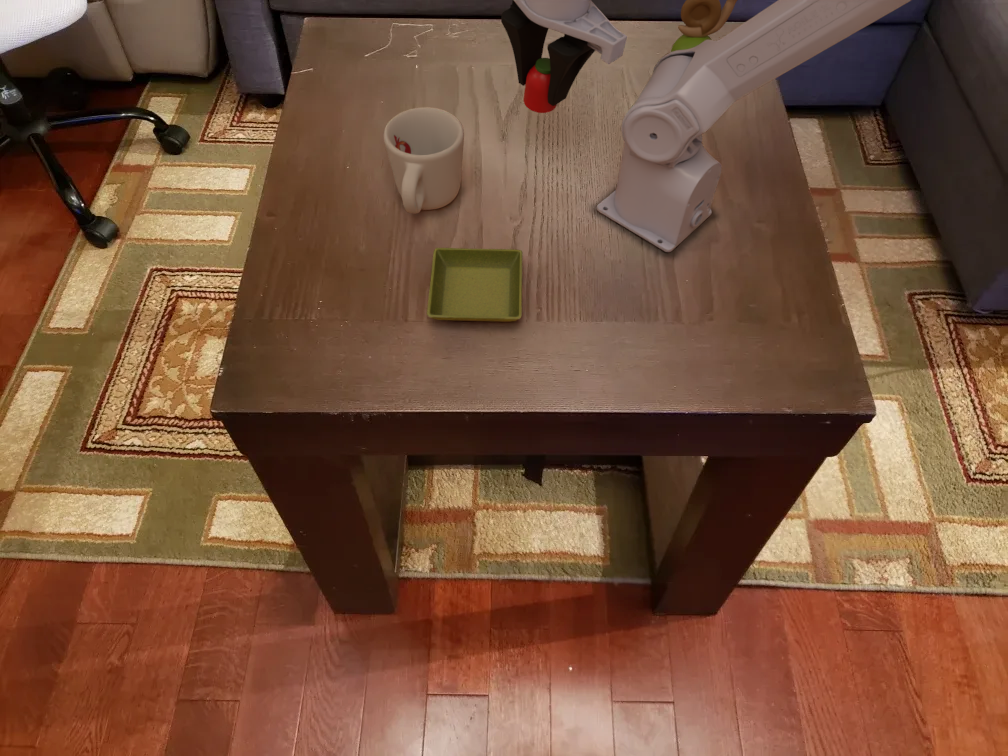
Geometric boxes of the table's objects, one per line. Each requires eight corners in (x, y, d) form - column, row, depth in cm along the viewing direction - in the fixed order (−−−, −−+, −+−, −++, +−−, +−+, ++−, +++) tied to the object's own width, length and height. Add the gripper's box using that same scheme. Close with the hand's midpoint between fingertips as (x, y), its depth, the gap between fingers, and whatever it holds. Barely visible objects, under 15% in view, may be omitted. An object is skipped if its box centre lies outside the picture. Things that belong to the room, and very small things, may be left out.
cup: (450, 243, 75) (446, 182, 69) (375, 232, 76) (363, 170, 69) (474, 174, 81) (472, 111, 75) (404, 164, 82) (396, 101, 75)
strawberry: (563, 103, 74) (571, 65, 70) (541, 118, 73) (547, 80, 69) (538, 86, 75) (544, 48, 71) (516, 100, 74) (521, 62, 70)
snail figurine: (721, 89, 90) (748, -9, 80) (668, 89, 90) (689, -9, 80) (714, 63, 93) (740, -34, 83) (663, 63, 93) (683, -35, 83)
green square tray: (521, 332, 69) (521, 318, 67) (427, 330, 69) (426, 316, 67) (522, 263, 74) (522, 249, 72) (435, 261, 74) (433, 246, 72)
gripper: (662, -28, 61) (624, 110, 72) (532, -102, 65) (516, 39, 77) (609, 4, 58) (578, 142, 69) (476, -77, 62) (468, 66, 74)
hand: (542, 90), depth 73 cm, fingers closed on strawberry, 3 cm apart
